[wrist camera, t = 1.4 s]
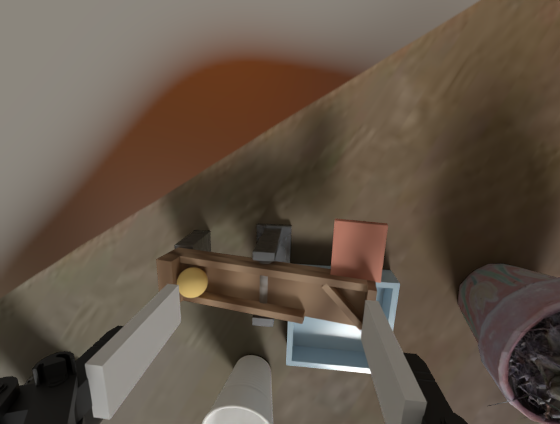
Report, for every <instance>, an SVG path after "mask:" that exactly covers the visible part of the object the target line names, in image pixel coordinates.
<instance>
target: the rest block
mask: <svg viewBox="0 0 560 424" xmlns="http://www.w3.org/2000/svg"><path fill="white" fill-rule="evenodd" d="M178 247H179V248H186V249H193V250H200V251H207V252H211V241H210V231H199V230H195V231H193V232H192V233H190V234H189V235H188V236H186V237H185V238H184V239H182V240H181V241H179V242H178V243H177V244H175V249H176V248H178Z"/></svg>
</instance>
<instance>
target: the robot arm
mask: <svg viewBox="0 0 560 424" xmlns="http://www.w3.org/2000/svg"><path fill="white" fill-rule="evenodd" d="M180 323H181V313H180V297H179V285H174V284H167V285H166V286H165V287H164V288H163V289H162V290H161V291H160V292H159V293H158V294H157V295H156V296H155V297H153V298H152V299H151V300H150V301H149V302H148V303H147V304H146V305H145V306H144V307H143V308H142V309H141V310H140V311H139V312H138V313H137V314H136V315H135V316H134V317H133V318H132V319H131V320H130V321H129V322H128V323H127V324H126V325H125V326H117V327H115V328H113V329H112V330H110V331H108V332H107V333H106V334H105V335H104V336H103V337H101V338H100V340H99V341H97V342H96V343H95V344H94V345H93V347H91V348H89V349H88V350H87V351H86V352H85V353H84V354H83V355H82V356H81V357H80V358H79V359H77V360H76V361H75V360H74V354H73V353H71V352H65V351H64V352H59V353H55V354H52V355H50V356H48V357H46V358H44V359H42V360H41V361H40V362H39V363H37V364H36V365H35V367H34V368H33V375H32V376H31V377H30V378H29V379H28V380H27V382H26V383H25V385H21V386H19V384H18V380H17V378H16V377H13V376H11V377H3V378H0V424H100V422H101V421H102V420H103V419H111V418H112V416H113V415H114V414H115V412H116V411H117V409H118V408H119V407H120V405H121V404H122V402H123V401H124V400H125V398H126V397H127V396H128V394H129V393H130V391H131V390H132V389H133V387H134V386H135V385H136V383H137V382H138V380H139V379H140V378H141V376H142V375H143V374H144V372H145V371H146V369H147V368H148V367H149V365H150V364H151V363H152V361H153V360H154V358H155V357H156V356H157V354H158V353H159V352H160V350H161V349H162V347H163V346H164V345H165V343H166V342H167V340H168V339H169V338H170V336H171V335H172V334H173V332H174V331H175V329H176V328H177V327H178V325H179V324H180ZM361 341H362V345H363V348H364V352H365V355H366V359H367V362H368V365H369V369H370V372H371V376H372V379H373V383H374V386H375V389H376V393H377V396H378V400H379V403H380V407H381V410H382V413H383V417H384V420H385V424H468V423H467V422H466V421H465V420H464V419H463V418H461V417H460V416H458V415H457V414H456V413H453V411H452V409H451V408H450V406H449V404H448V402H447V401H446V399H445V397H444V395H443V393H442V392H441V390H440V388H439V386H438V385H437V383H436V382H435V379H434V377H433V376H432V374H431V372H430V370H429V369H428V367H427V365H426V363H425V362H424V361H423V360H422V359H421V358H420V357H419V356H418V355H417V354H410V353H403V352H402V349H401V347H400V345H399V343H398V341H397V339H396V337H395V335H394V333H393V331H392V329H391V327H390V325H389V322H388V320H387V318H386V316H385V314H384V312H383V310H382V308H381V306H380V304H379V302H378V301H371V300H365V308H364V316H363V324H362V332H361Z"/></svg>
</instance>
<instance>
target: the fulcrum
mask: <svg viewBox="0 0 560 424" xmlns="http://www.w3.org/2000/svg"><path fill="white" fill-rule="evenodd" d="M291 226H292V225H275V224H257V245H256V247H255V249H254V250H253V260H257V261H272V262H274V261H278V262H285V263H290V251H291ZM273 323H274V318H270V317H265V316H260V315H255V314H253V318H252V325H257V326H268V327H273Z"/></svg>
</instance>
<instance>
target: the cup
mask: <svg viewBox="0 0 560 424" xmlns="http://www.w3.org/2000/svg"><path fill="white" fill-rule="evenodd" d="M202 424H273V409H272V386H271V368H270V366H269V364H268V363H267V362H266V361H265V360H264V359H263V358H261V357H259V356H255V355H247V356H244V357H242V358H240V359H239V360H238V361H237V363H236V365H235V367H234V368H233V370H232V372H231V374H230V376H229V378H228V379H227V381H226V383H225V385H224V387H223V388H222V390H221V392H220V394H219V395H218V397H217V399H216V401H215V403H214V404H213V406H212V408H211V410H210V412H209V413H208V414H207V415H206V416H205V417H204V419H203V421H202Z"/></svg>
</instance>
